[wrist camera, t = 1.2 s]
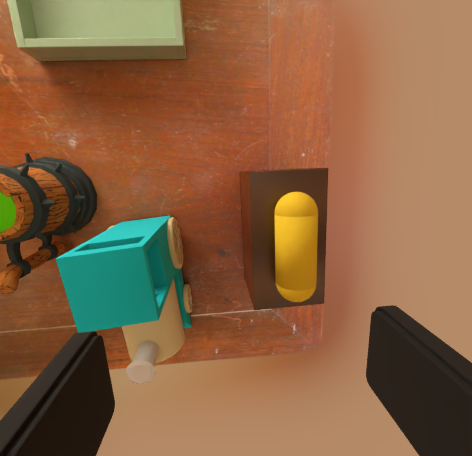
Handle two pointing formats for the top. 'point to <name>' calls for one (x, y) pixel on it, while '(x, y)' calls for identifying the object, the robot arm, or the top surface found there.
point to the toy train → (132, 289)
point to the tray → (99, 29)
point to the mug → (40, 211)
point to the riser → (263, 229)
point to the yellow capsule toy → (296, 246)
